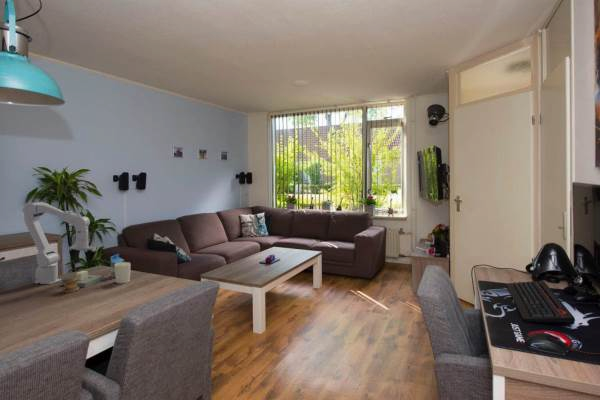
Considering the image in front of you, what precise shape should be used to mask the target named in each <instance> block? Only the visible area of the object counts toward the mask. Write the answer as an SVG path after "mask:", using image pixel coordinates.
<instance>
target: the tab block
mask: <svg viewBox="0 0 600 400" xmlns="http://www.w3.org/2000/svg"><path fill="white" fill-rule="evenodd" d="M88 275H89V271H88V270H82V271H78V272H76V273H75V277H79V281H84V280H87V279H88Z"/></svg>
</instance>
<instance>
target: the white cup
mask: <svg viewBox="0 0 600 400" xmlns="http://www.w3.org/2000/svg"><path fill="white" fill-rule="evenodd" d="M130 276H131V262H129V261H127V262H126V261H125V262H122V263H117V264H115V277H116V278H115V283H117V284H126V283H129V282H130V280H131V279H130V278H131V277H130Z"/></svg>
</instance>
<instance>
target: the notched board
mask: <svg viewBox="0 0 600 400" xmlns="http://www.w3.org/2000/svg"><path fill="white" fill-rule="evenodd" d="M103 280H105V275H101V274H100V275H98V274H88V279H87V280H84V281H77V286H78V287H79V288H86V287H89V286H91V285H93V284H96V283H98V282H101V281H103ZM60 284H61V286H62V285H64V287H65V283H63V281H62V280H61V283H60Z"/></svg>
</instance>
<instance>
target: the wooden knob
mask: <svg viewBox="0 0 600 400" xmlns="http://www.w3.org/2000/svg"><path fill="white" fill-rule="evenodd" d="M62 281H63V283H65V286H64V288H63V289H62V292H63V293H65V294H69V293H75V292H76V293H77V292H78V291H79V290H80V287H78V286H77V281H79V277H76V276H70V277H65V278H63V279H62V280H61V282H62Z"/></svg>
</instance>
